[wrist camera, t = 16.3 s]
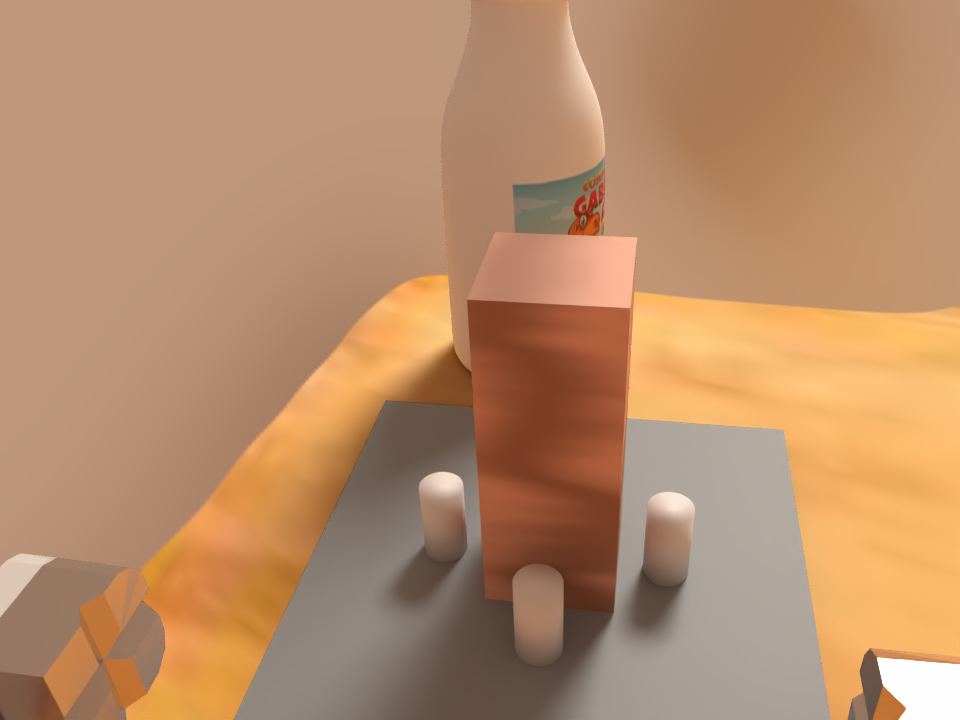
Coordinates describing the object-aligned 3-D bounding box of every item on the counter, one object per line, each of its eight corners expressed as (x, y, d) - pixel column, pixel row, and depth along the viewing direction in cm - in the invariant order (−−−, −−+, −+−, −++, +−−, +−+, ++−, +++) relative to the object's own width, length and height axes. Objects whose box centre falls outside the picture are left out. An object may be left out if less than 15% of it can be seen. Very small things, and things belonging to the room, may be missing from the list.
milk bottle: (460, 398, 43) (429, -46, 32) (448, 320, 50) (419, -71, 39) (615, 383, 44) (635, -59, 33) (583, 308, 50) (591, -82, 39)
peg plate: (780, 448, 39) (793, 372, 37) (843, 857, 24) (872, 771, 22) (388, 417, 42) (379, 346, 40) (229, 760, 27) (201, 677, 25)
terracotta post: (621, 522, 34) (636, 237, 27) (614, 613, 30) (630, 308, 24) (505, 511, 35) (494, 232, 28) (485, 598, 31) (467, 299, 24)
